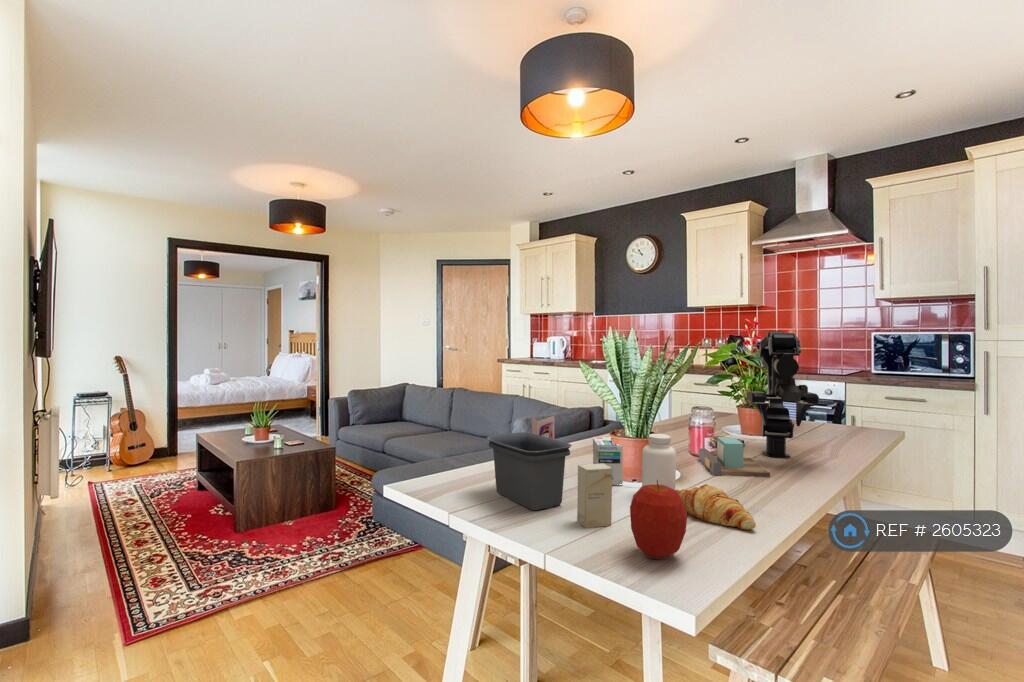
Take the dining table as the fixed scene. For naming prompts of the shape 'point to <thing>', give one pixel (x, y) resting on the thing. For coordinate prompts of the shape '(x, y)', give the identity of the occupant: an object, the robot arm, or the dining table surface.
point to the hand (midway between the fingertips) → (781, 425)
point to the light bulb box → (609, 457)
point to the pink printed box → (543, 427)
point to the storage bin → (529, 468)
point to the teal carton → (730, 452)
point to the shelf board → (746, 469)
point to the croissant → (716, 507)
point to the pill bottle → (659, 462)
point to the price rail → (710, 461)
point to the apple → (658, 520)
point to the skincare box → (594, 495)
